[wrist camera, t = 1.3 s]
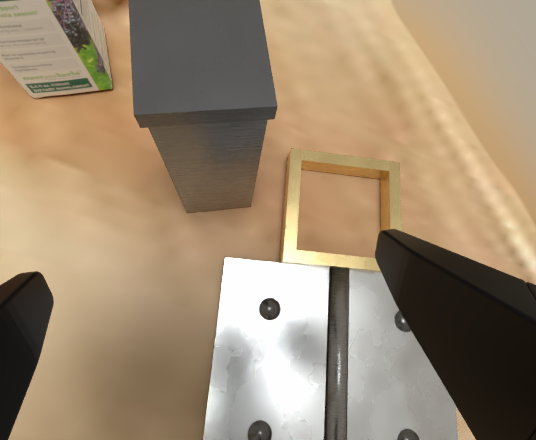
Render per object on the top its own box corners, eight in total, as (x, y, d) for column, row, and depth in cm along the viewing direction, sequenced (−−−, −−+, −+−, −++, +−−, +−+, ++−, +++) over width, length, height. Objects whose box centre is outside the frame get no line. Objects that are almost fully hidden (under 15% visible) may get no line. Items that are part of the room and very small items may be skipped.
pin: (253, 209, 23) (277, 106, 11) (184, 216, 22) (133, 114, 11) (245, 147, 24) (258, -3, 13) (179, 152, 24) (128, -2, 12)
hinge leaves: (455, 497, 20) (473, 512, 18) (197, 487, 18) (194, 502, 17) (435, 176, 25) (447, 168, 24) (238, 151, 24) (238, 141, 23)
